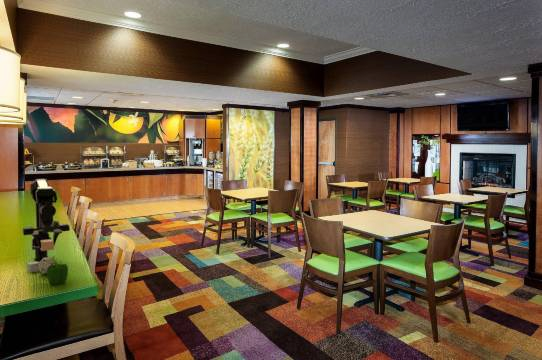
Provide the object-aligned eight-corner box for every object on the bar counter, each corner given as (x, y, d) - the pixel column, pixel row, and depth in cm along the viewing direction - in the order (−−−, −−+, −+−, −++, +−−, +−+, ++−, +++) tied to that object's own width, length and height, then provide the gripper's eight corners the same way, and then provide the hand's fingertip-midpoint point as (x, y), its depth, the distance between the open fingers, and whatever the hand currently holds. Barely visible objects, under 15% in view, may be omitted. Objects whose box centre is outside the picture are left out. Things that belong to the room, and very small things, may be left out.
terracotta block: (40, 248, 182) (40, 240, 181) (52, 247, 184) (52, 239, 184) (41, 251, 178) (41, 242, 177) (53, 249, 180) (53, 241, 180)
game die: (52, 279, 184) (66, 261, 186) (42, 279, 175) (57, 260, 178) (37, 269, 185) (51, 251, 187) (27, 268, 176) (42, 250, 179)
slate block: (27, 271, 185) (27, 262, 184) (36, 269, 188) (36, 261, 188) (30, 272, 182) (30, 264, 182) (39, 270, 185) (39, 262, 185)
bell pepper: (63, 278, 175) (62, 257, 174) (71, 282, 170) (70, 260, 169) (43, 283, 169) (42, 261, 168) (50, 287, 163) (50, 265, 162)
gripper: (23, 218, 168) (25, 253, 169) (71, 215, 179) (72, 247, 180) (22, 215, 177) (23, 248, 178) (67, 211, 188) (68, 243, 189)
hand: (47, 247), depth 181 cm, fingers closed on terracotta block, 5 cm apart
